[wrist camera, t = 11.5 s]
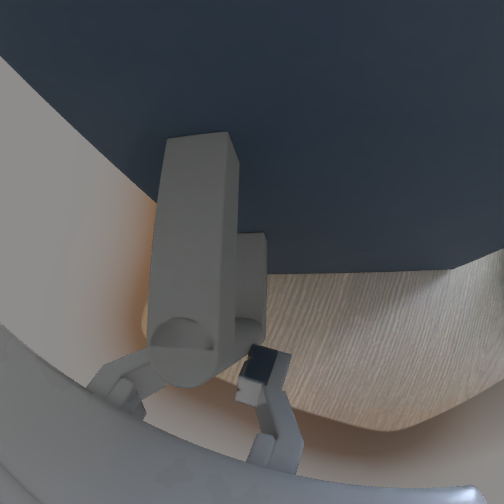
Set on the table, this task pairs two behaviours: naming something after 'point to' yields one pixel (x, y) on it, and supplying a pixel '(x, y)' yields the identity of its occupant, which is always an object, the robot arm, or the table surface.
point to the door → (278, 142)
